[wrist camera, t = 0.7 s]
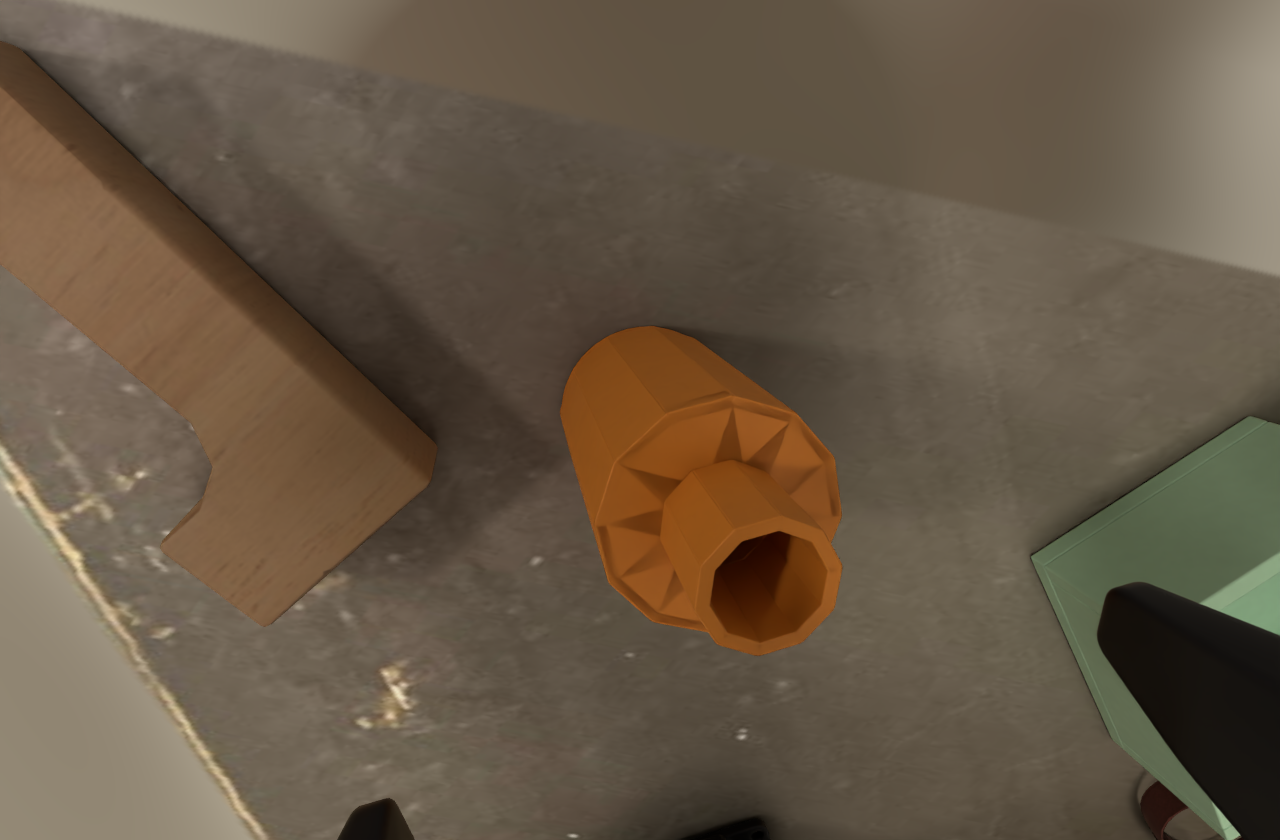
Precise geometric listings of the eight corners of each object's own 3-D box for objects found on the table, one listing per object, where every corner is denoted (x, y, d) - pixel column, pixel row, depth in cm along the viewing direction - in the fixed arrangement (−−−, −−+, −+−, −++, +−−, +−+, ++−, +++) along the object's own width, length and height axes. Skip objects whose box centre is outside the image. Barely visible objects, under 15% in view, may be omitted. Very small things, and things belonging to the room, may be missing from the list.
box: (1110, 738, 34) (1228, 843, 29) (1029, 556, 30) (1148, 637, 24) (1304, 613, 34) (1460, 695, 28) (1249, 414, 30) (1417, 464, 24)
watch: (1256, 802, 37) (1332, 863, 34) (1190, 867, 38) (1259, 934, 34) (1177, 737, 35) (1251, 797, 31) (1107, 808, 35) (1173, 874, 32)
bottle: (736, 462, 26) (919, 667, 15) (583, 503, 26) (654, 751, 14) (708, 308, 24) (895, 410, 13) (543, 349, 24) (589, 494, 12)
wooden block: (441, 446, 24) (16, 42, 19) (434, 483, 21) (-77, 12, 16) (293, 577, 24) (-165, 214, 19) (264, 633, 21) (-290, 218, 16)
